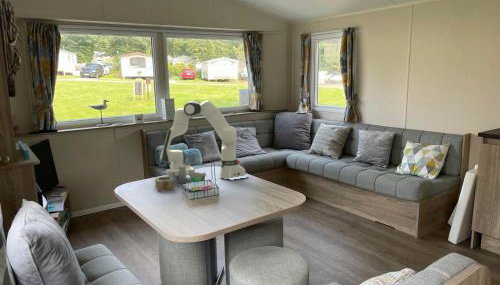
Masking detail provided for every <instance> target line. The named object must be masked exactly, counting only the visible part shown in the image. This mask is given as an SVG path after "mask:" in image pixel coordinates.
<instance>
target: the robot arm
mask: <svg viewBox="0 0 500 285" xmlns="http://www.w3.org/2000/svg"><path fill="white" fill-rule="evenodd" d="M199 114H201V115H203V117H204V118H205V119H206V121H208V123H209V124H210V125H211V126H212V128H213V129H214V131H215V132H216V134H217V136H218V137H219V138H220V140H221V149H220V150H221V152H220V153H221V154H220V155H221V156H220V172H219V176H220V177H221V178H233V177H239V176H244V175H246V174H247V173H246V169H245V168H244V167H243V166H242V165H240V164H241V160H239V159H237V139H238V135H237V134H238V131H237V129H236V128H235V126H232V125H230V124H229V123H228V121H227V119H226V118H225V116H224V115H223V114H222V113H221V112H220V110H219V109H218V108H217V107H216V106H215V104H214V103H212V102H211V101H210V100H204V101H202V102H200V101H199V100H189V101H187V102H186V103H185V104H184V106H183V108H182V107H179V108H177V109H176V111H175V113H174V118H173V125H172V126H171V128H168V131H167V133H166V136H165V140H164V143H163V146H162V149H161V151H160V156H159V158H160V161H162V163H164V164H166V163H167V164H168V163H170V168H169V169H166V170H165V173H166V175H167V176H170V177H174V176H176V177H179V166H186V176H189V173H190V171H191V173H196V171H195V170H196V169H195V167H193V166H191V165H190V164H185V163H186V153H185V151H184V150H181V149H170V146H171V142H172V140H173V139H174V138H176V137H179V136H181V135H184V134H185V133H186V132H187V131H188V128H189V120H190V117H193V116H197V115H199ZM167 176H166V177H167ZM221 178H220V179H221Z"/></svg>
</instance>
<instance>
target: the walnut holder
mask: <svg viewBox="0 0 500 285" xmlns="http://www.w3.org/2000/svg"><path fill="white" fill-rule="evenodd" d="M154 182H155V187H156V190H157V191H158V192H164V191H165V192H167V191H175V190H174V180H173V178H172V176H157V177H155V180H154Z"/></svg>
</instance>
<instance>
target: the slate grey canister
mask: <svg viewBox="0 0 500 285" xmlns="http://www.w3.org/2000/svg"><path fill="white" fill-rule="evenodd" d="M183 183H185V184H186V183H187V175H186V166H179V176H178V184H180V185H184V184H183Z"/></svg>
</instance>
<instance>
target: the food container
mask: <svg viewBox="0 0 500 285" xmlns="http://www.w3.org/2000/svg"><path fill="white" fill-rule="evenodd" d="M188 176H189V179H190V183H191V182H199V181H204V182H205V180H206V178H205V177H206V176H207V174H206V172H203V173H200V172H195V173H191V171H190V173H189V174H188Z"/></svg>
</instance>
